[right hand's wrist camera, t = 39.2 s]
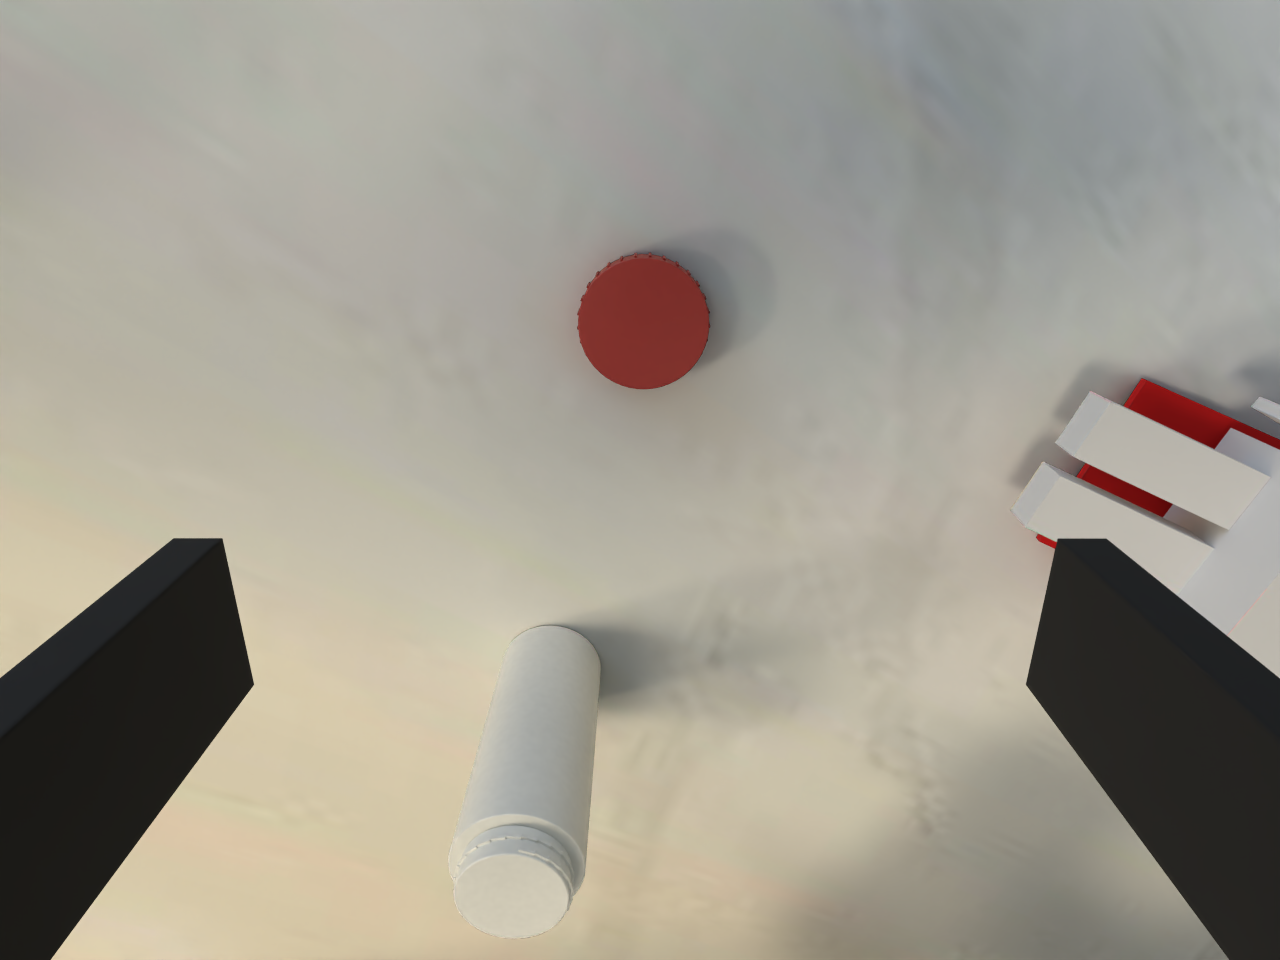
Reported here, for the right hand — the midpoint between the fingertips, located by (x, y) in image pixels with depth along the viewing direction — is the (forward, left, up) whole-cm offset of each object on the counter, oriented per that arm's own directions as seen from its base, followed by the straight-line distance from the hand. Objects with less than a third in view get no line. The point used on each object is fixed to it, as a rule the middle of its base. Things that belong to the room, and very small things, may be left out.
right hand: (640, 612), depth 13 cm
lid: (0, 0, -25) cm, 25 cm away
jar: (-10, -17, -26) cm, 33 cm away
